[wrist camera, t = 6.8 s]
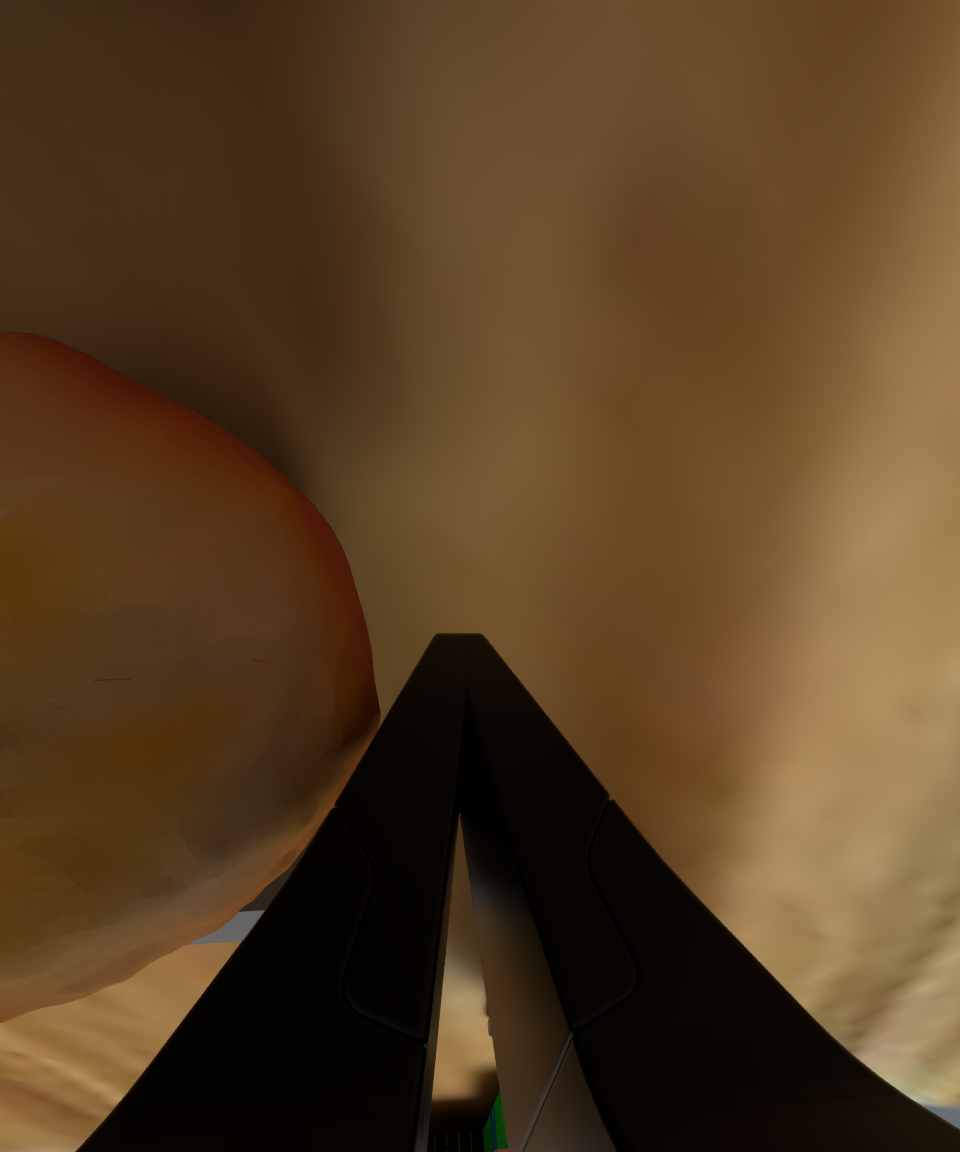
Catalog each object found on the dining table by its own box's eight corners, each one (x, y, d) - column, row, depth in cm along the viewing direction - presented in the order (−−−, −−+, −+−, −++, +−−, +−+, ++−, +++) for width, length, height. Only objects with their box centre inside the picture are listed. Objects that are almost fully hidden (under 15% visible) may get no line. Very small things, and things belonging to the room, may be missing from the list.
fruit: (-213, 704, 9) (-1845, 1356, 2) (36, 343, 10) (-524, -87, 3) (223, 833, 13) (172, 1277, 5) (387, 549, 13) (542, 589, 6)
